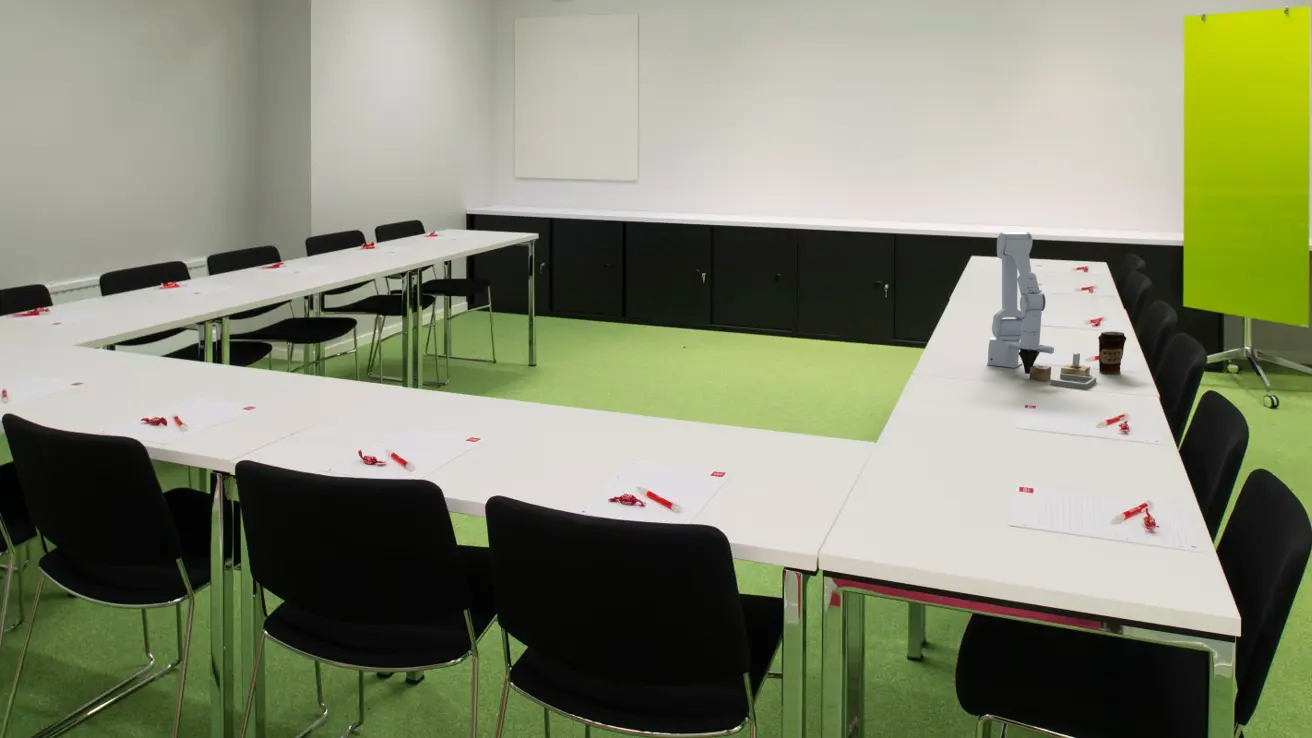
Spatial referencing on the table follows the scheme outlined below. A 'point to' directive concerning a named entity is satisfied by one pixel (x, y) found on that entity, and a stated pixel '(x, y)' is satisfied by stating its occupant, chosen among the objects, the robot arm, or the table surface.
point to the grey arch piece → (1088, 380)
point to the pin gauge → (1076, 360)
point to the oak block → (1075, 370)
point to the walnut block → (1040, 373)
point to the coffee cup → (1111, 351)
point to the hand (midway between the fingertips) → (1027, 373)
